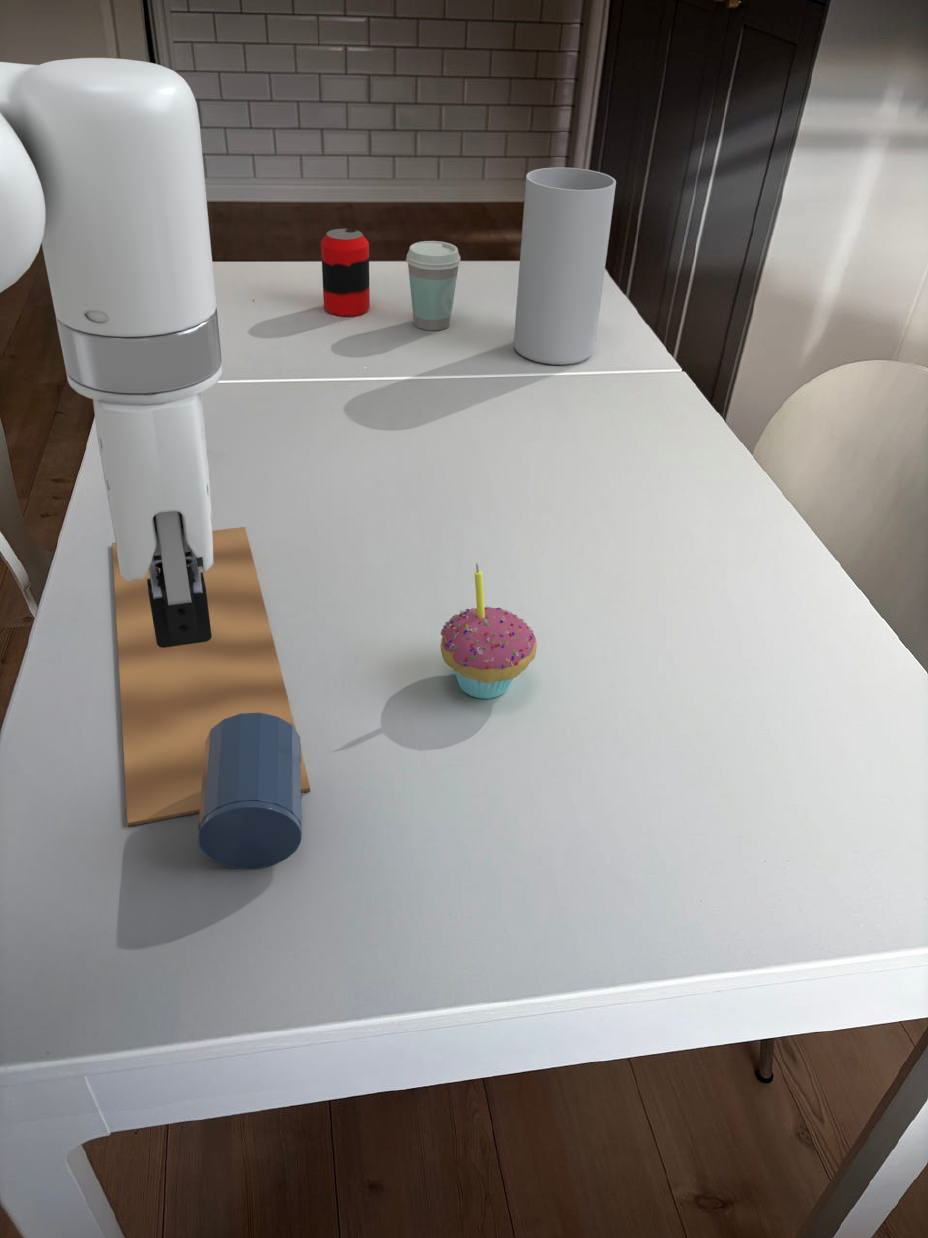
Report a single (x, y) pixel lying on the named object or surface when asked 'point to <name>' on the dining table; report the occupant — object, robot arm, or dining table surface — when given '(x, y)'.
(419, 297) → the coffee cup
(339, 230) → the soda can
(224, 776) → the cup
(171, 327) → the robot arm
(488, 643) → the cupcake
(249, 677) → the placemat
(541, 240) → the cylinder vase
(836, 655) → the dining table surface
